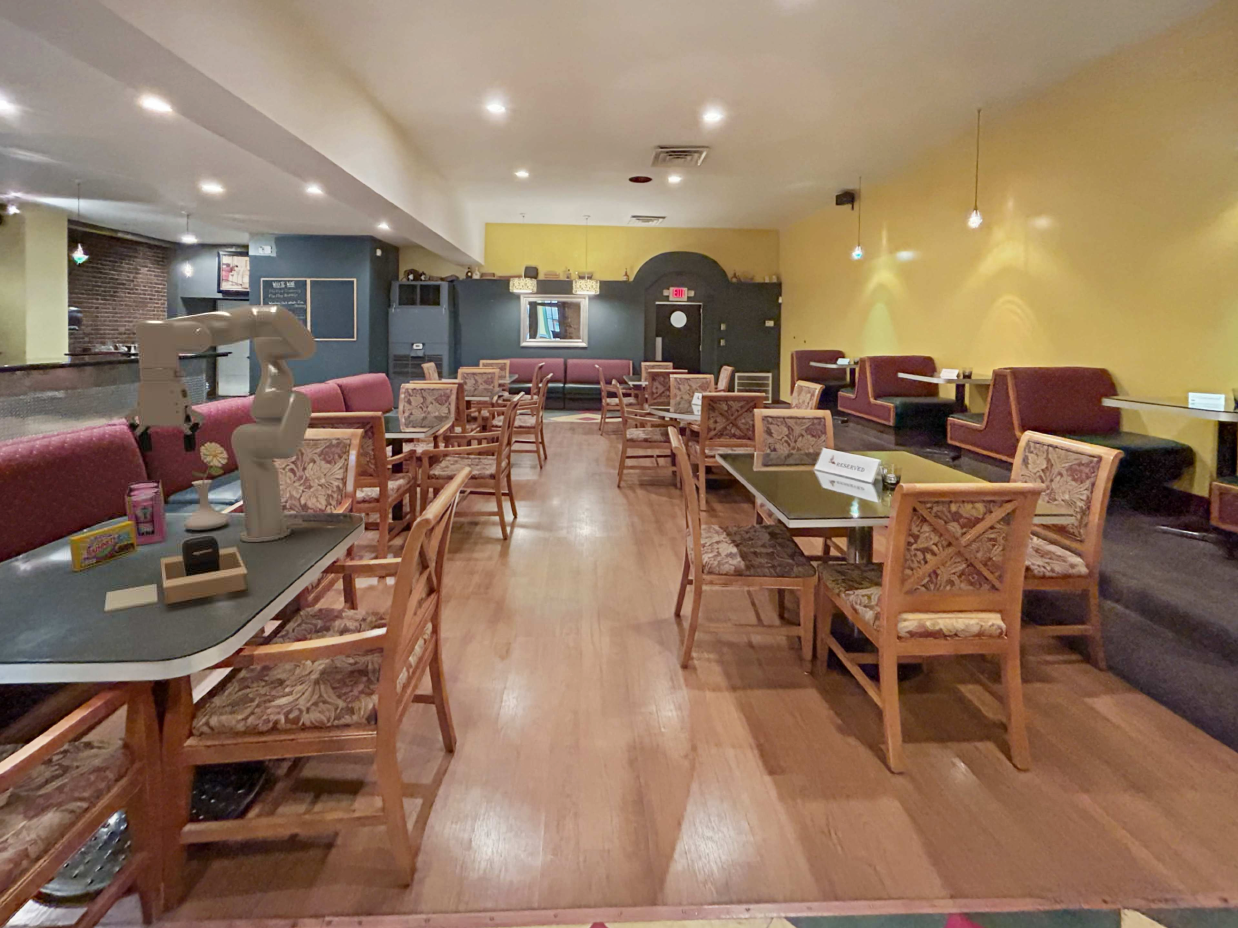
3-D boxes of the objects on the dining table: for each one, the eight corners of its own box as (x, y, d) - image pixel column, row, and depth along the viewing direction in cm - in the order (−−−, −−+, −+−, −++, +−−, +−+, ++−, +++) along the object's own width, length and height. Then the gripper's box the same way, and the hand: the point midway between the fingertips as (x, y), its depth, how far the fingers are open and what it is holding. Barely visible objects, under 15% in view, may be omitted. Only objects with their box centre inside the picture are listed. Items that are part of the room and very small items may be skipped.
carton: (238, 566, 167) (235, 546, 166) (249, 594, 149) (247, 572, 148) (163, 579, 159) (160, 558, 158) (166, 610, 141) (163, 587, 140)
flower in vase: (191, 535, 194) (180, 448, 189) (179, 528, 201) (168, 443, 197) (241, 526, 203) (232, 442, 198) (227, 519, 211) (218, 438, 206)
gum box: (165, 543, 187) (158, 494, 185) (130, 548, 183) (122, 498, 181) (167, 523, 207) (161, 479, 205) (135, 527, 203) (129, 482, 201)
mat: (156, 585, 155) (156, 583, 155) (157, 602, 145) (157, 600, 145) (107, 594, 150) (106, 592, 150) (104, 612, 140) (104, 610, 140)
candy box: (79, 572, 165) (74, 538, 163) (72, 571, 165) (66, 538, 164) (138, 551, 180) (134, 520, 179) (131, 550, 181) (127, 520, 179)
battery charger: (189, 592, 150) (182, 542, 148) (185, 588, 153) (179, 538, 151) (225, 585, 155) (219, 536, 153) (220, 580, 158) (214, 532, 156)
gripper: (209, 375, 159) (215, 449, 162) (131, 376, 159) (140, 449, 161) (190, 376, 152) (198, 453, 155) (109, 377, 151) (118, 454, 154)
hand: (168, 451), depth 158 cm, fingers open, 9 cm apart
